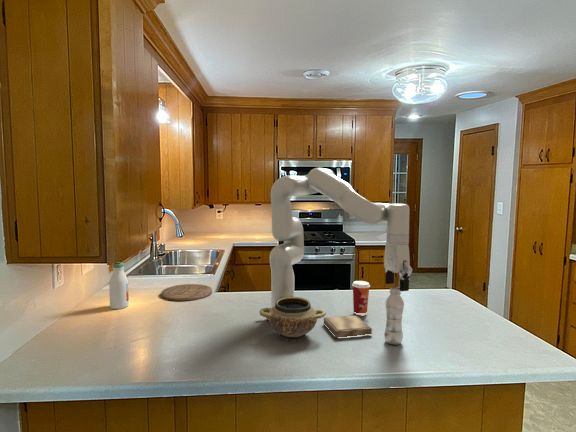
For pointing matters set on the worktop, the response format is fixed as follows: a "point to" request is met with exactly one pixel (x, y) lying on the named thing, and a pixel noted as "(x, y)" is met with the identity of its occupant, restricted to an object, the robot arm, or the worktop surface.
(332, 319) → the plinth
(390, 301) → the plastic bottle
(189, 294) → the trivet
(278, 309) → the ceramic bowl
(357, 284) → the paper cup
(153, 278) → the worktop surface
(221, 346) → the worktop surface
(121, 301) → the milk bottle
